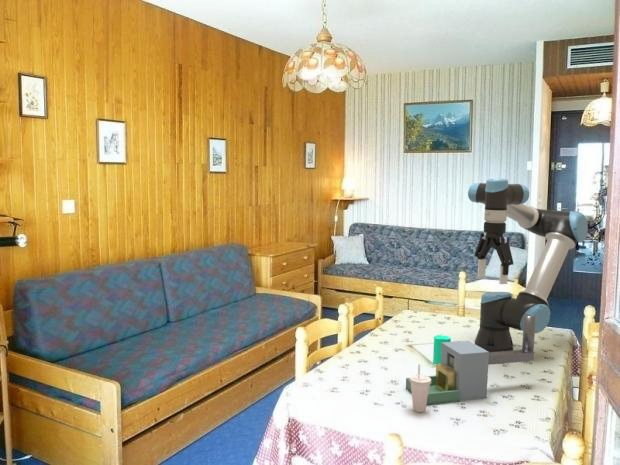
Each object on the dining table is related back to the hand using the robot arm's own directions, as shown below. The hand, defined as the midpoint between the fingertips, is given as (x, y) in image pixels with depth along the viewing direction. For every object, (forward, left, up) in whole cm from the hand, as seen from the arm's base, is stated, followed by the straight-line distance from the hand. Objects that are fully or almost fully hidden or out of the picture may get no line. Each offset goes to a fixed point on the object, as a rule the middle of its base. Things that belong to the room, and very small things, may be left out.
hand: (491, 280), depth 198 cm
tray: (+32, +18, -33) cm, 49 cm away
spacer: (+28, +18, -28) cm, 43 cm away
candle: (+15, -7, -33) cm, 37 cm away
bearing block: (+21, +18, -33) cm, 43 cm away
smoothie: (+41, +27, -33) cm, 59 cm away
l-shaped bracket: (+10, +18, -24) cm, 32 cm away
